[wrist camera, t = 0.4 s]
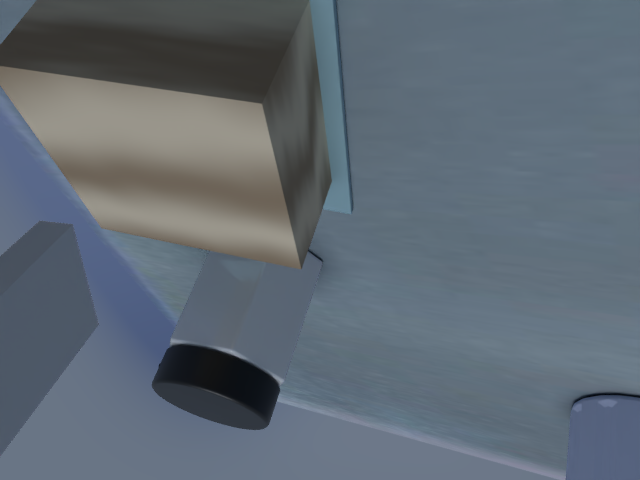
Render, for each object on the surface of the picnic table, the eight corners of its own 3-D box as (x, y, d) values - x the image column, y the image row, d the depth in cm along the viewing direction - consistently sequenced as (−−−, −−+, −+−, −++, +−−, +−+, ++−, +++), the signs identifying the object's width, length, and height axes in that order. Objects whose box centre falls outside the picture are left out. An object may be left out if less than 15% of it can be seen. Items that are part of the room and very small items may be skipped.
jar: (192, 233, 46) (123, 381, 40) (256, 208, 41) (187, 376, 35) (276, 291, 51) (226, 431, 45) (345, 275, 45) (297, 434, 39)
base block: (58, -26, 28) (-15, 64, 25) (309, -1, 25) (262, 103, 22) (145, 149, 38) (101, 228, 35) (332, 181, 35) (301, 269, 32)
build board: (52, -52, 27) (47, -47, 27) (333, -27, 24) (330, -20, 24) (163, 175, 40) (160, 179, 40) (353, 209, 37) (351, 214, 37)
